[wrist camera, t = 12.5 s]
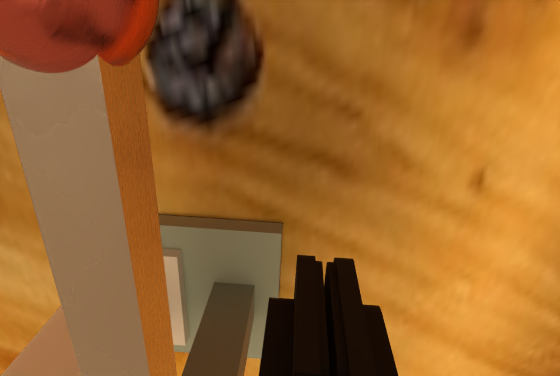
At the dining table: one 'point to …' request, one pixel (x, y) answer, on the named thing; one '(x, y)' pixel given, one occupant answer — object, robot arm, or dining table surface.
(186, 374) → the press
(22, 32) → the lever
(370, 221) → the dining table surface
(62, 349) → the can
